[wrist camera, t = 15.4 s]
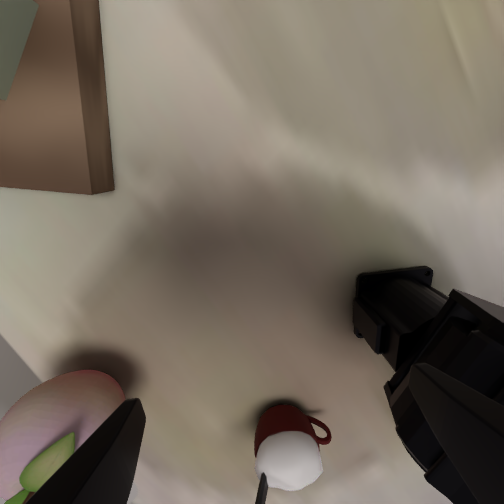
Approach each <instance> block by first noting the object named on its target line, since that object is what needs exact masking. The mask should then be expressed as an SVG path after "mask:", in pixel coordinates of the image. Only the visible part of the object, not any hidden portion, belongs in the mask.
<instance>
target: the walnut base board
mask: <svg viewBox="0 0 504 504" xmlns="http://www.w3.org/2000/svg"><path fill="white" fill-rule="evenodd" d="M33 1H34V2H36V3H37V4H38V5H39V6H38V9H37V12H36V15H35V18H34V21H33V24H32V27H31V30H30V33H29V36H28V39H27V41H26V44H25V47H24V50H23V53H22V56H21V59H20V62H19V65H18V68H17V71H16V74H15V76H14V79H13V82H12V85H11V88H10V91H9V94H8V97H7V100H6V101H5V100H2V99H0V187H8V188H20V189H31V190H43V191H54V192H66V193H77V194H88V195H93V194H98V193H103V192H107V191H112V190H114V179H113V167H112V156H111V144H110V132H109V120H108V108H107V97H106V85H105V73H104V61H103V50H102V38H101V26H100V14H99V2H98V0H33Z"/></svg>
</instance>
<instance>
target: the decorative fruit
mask: <svg viewBox="0 0 504 504" xmlns="http://www.w3.org/2000/svg"><path fill="white" fill-rule="evenodd" d="M123 401H125V396H124V393H123V391H122V389H121V387H120V385H119V384H118V383H117V381H116V380H115V379H114V378H112V377H111V376H109V375H108V374H106V373H103V372H100V371H97V370H79V371H73V372H69V373H65V374H62V375H60V376H57V377H55V378H52V379H50V380H48V381H46V382H44V383H42V384H40V385H38V386H36V387H35V388H33V389H32V390H30V391H29V392H27V393H26V394H25V395H24V396H22V397H21V398H20V399H19V400H18V401H17V402H16V403H15V404H14V405H13V406H12V407H11V408H10V409H9V410H8V412H7V413H6V414H5V416H4V417H3V418H2V419H1V421H0V497H1V498H3V499H5V500H6V502H5V503H4V504H25V503H26V502H27V501H28V500H29V499H30V498H31V497H32V496H33V494H34V493H35V492H36V491H37V490H38V489H39V488H40V487H41V486H42V485H43V484H44V483H45V482H46V481H47V480H48V479H49V478H50V477H51V476H52V475H53V474H54V473H55V472H56V471H57V470H58V469H59V468H60V467H61V466H62V464H63V463H64V462H65V461H66V460H67V459H68V458H69V457H70V456H71V455H72V454H73V453H74V452H75V451H76V450H77V449H78V448H79V447H80V446H81V445H82V444H83V443H84V442H85V441H86V440H87V439H88V438H89V437H90V435H91V434H92V433H93V432H94V431H95V430H96V429H97V428H98V427H99V426H100V425H101V424H102V423H103V422H104V421H105V420H106V419H107V418H108V417H109V416H110V415H111V414H112V413H113V412H114V411H115V410H116V409H117V408H118V407H119V405H120V404H121V403H122V402H123Z"/></svg>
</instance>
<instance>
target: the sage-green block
mask: <svg viewBox="0 0 504 504" xmlns="http://www.w3.org/2000/svg"><path fill="white" fill-rule="evenodd" d="M38 6H39V5H38V4H37V3H36V2H34V1H33V0H0V99H2V100H5V101H6V100H7V97H8V94H9V91H10V88H11V85H12V82H13V79H14V76H15V74H16V71H17V68H18V65H19V62H20V59H21V56H22V53H23V50H24V47H25V44H26V41H27V39H28V36H29V33H30V30H31V27H32V24H33V21H34V18H35V15H36V12H37V9H38Z"/></svg>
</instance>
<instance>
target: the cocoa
mask: <svg viewBox="0 0 504 504" xmlns="http://www.w3.org/2000/svg"><path fill="white" fill-rule="evenodd" d="M311 423H313V424H315V425H317V426H319V427H321V428H322V429H324V430H325V431H326V433H327V437H325V438H320V437H318V436H317V435H316V434H315V431H314V429H313V427H312V425H311ZM330 441H331V432H330V430H329V428H328V427H327V426H326V425H325V424H324V423H322V422H321V421H319V420H317V419H315V418H313V417H310V416H308V415H305V414H304V413H303V412H302V411H301V410H299V409H298V408H297V407H294V406H291V405H277V406H274V407H271V408H269V409H268V410H267V411H266V412H265V413H263V415H262V416H261V417H260V420H259V422H258V425H257V428H256V433H255V441H254V451H255V457H256V462H255V471H256V473H257V476H258V478H259V480H260V483H259V488H258V492H257V497H256V502H255V504H265V501H266V495H267V490H268V486H269V487H274V488H280V489H283V490H286V491H296V490H301V489H303V488H304V487H305V486H307V485H309V484H311V483H313V482H314V481H315V480H316V479H317V478H318V477H319V476H320V475H321V474H322V473H323V468H322V462H321V457H320V453H319V451H320V450H319V444H322V445H326V444H329V443H330Z"/></svg>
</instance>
